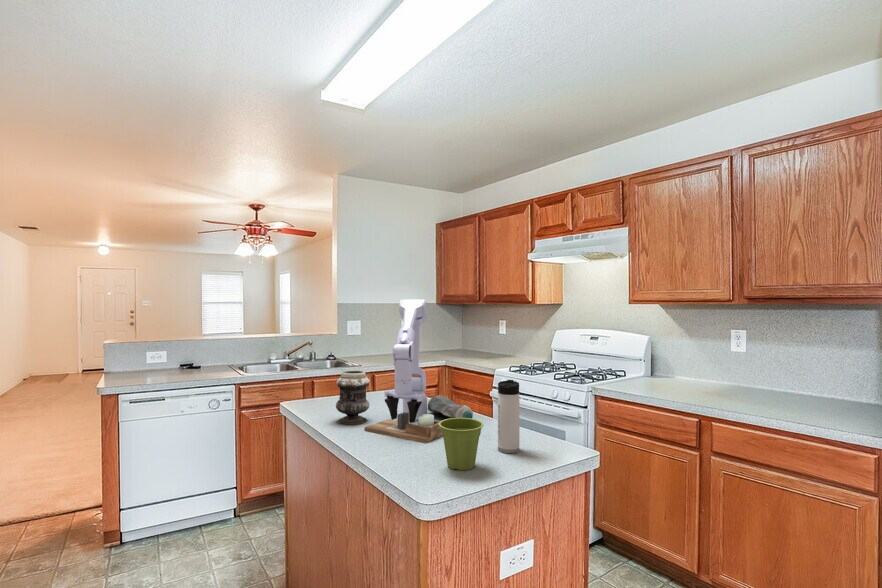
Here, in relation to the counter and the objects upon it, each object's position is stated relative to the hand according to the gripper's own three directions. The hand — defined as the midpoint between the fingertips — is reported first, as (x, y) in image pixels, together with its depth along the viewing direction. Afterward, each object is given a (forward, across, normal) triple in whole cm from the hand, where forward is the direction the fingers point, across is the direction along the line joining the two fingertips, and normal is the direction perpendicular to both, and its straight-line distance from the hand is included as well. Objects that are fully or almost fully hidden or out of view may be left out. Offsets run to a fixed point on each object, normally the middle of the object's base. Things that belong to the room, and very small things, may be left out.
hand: (403, 420), depth 154 cm
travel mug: (+4, +37, +2) cm, 38 cm away
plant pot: (+4, +32, -17) cm, 37 cm away
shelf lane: (+4, +1, 0) cm, 4 cm away
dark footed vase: (+4, -24, +1) cm, 24 cm away
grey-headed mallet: (+2, +6, 0) cm, 6 cm away
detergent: (+4, +5, +24) cm, 24 cm away
